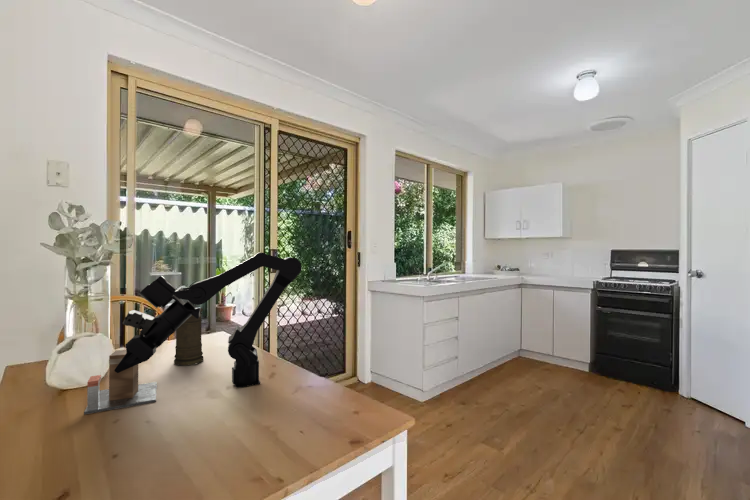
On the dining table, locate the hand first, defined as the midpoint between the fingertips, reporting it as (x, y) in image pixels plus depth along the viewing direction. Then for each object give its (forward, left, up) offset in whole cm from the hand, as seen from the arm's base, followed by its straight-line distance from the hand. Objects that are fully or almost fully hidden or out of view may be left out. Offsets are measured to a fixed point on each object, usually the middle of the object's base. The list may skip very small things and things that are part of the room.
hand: (121, 366), depth 92 cm
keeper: (-1, 0, -8) cm, 8 cm away
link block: (0, 0, -7) cm, 8 cm away
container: (-17, -25, -8) cm, 31 cm away
